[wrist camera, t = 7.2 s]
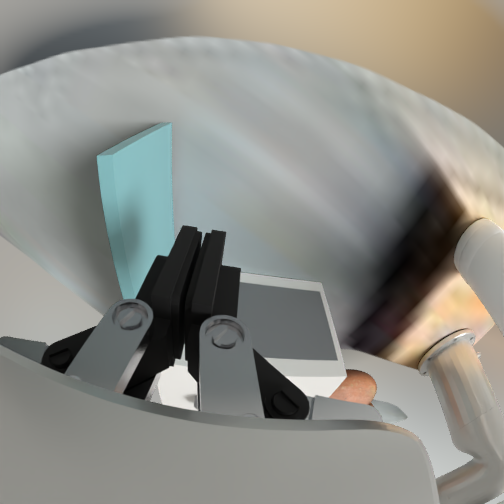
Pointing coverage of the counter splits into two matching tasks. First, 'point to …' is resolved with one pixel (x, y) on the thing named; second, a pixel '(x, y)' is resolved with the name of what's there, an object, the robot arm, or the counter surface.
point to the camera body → (276, 338)
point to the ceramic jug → (356, 388)
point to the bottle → (484, 265)
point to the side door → (138, 203)
